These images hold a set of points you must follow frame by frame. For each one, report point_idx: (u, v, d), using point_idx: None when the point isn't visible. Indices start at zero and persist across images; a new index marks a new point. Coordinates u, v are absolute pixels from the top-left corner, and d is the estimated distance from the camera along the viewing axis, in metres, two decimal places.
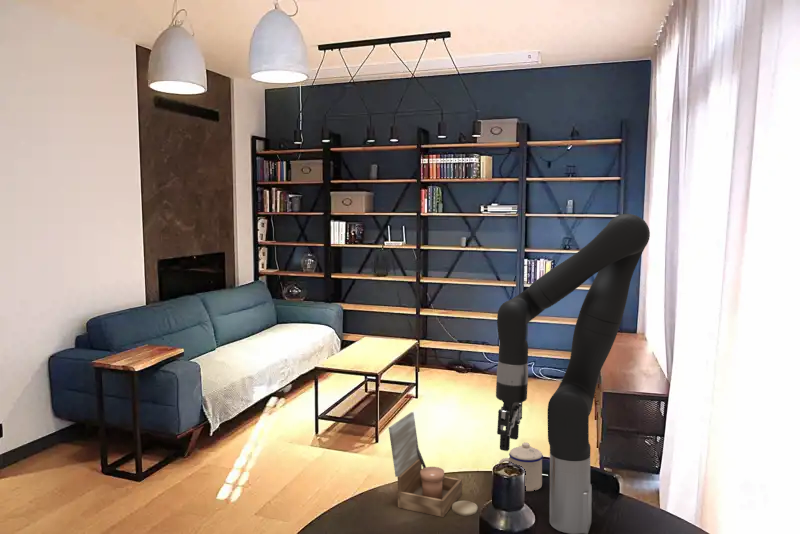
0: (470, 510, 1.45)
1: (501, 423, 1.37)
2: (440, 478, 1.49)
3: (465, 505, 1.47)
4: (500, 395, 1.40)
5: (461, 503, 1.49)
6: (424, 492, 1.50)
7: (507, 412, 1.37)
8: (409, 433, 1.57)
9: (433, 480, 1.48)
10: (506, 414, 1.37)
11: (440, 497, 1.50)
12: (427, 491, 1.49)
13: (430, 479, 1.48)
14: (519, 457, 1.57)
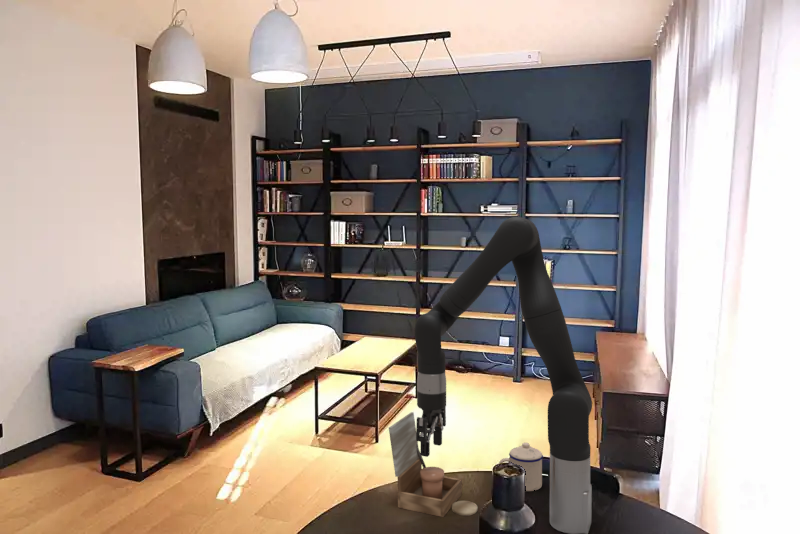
0: (470, 510, 1.45)
1: (419, 430, 1.45)
2: (440, 478, 1.49)
3: (465, 505, 1.47)
4: (420, 403, 1.48)
5: (461, 503, 1.49)
6: (424, 492, 1.50)
7: (424, 419, 1.44)
8: (409, 433, 1.57)
9: (433, 480, 1.48)
10: (423, 421, 1.44)
11: (440, 497, 1.50)
12: (427, 491, 1.49)
13: (430, 479, 1.48)
14: (519, 457, 1.57)
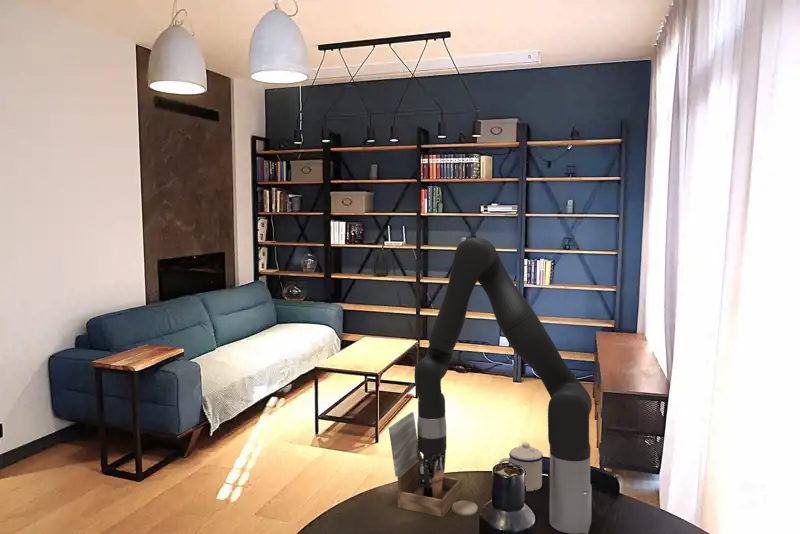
0: (470, 510, 1.45)
1: (421, 478, 1.46)
2: (440, 478, 1.49)
3: (465, 505, 1.47)
4: (420, 447, 1.49)
5: (461, 503, 1.49)
6: None
7: (425, 469, 1.45)
8: (409, 433, 1.57)
9: (433, 480, 1.48)
10: (424, 470, 1.45)
11: (440, 497, 1.50)
12: None
13: None
14: (519, 457, 1.57)
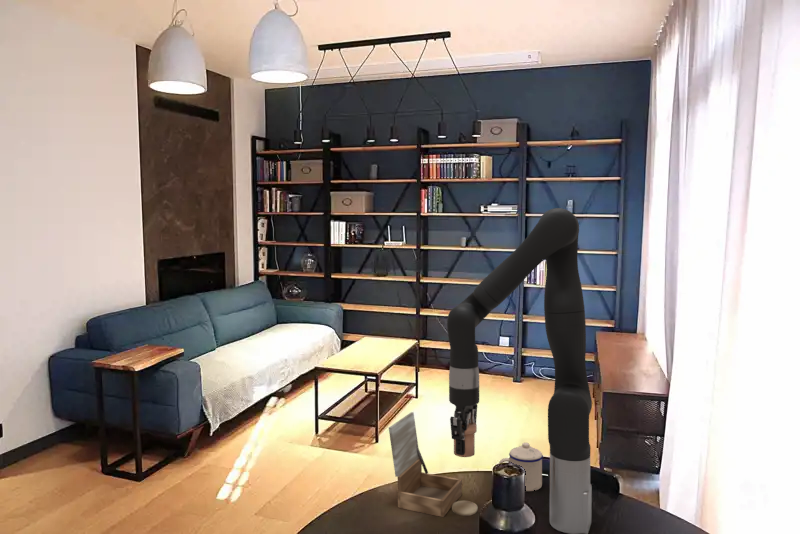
0: (470, 510, 1.45)
1: (454, 430, 1.40)
2: (473, 431, 1.43)
3: (465, 505, 1.47)
4: (452, 399, 1.43)
5: (461, 503, 1.49)
6: None
7: (458, 420, 1.39)
8: (409, 433, 1.57)
9: (466, 433, 1.43)
10: (457, 421, 1.39)
11: (472, 451, 1.44)
12: None
13: (462, 432, 1.43)
14: (519, 457, 1.57)
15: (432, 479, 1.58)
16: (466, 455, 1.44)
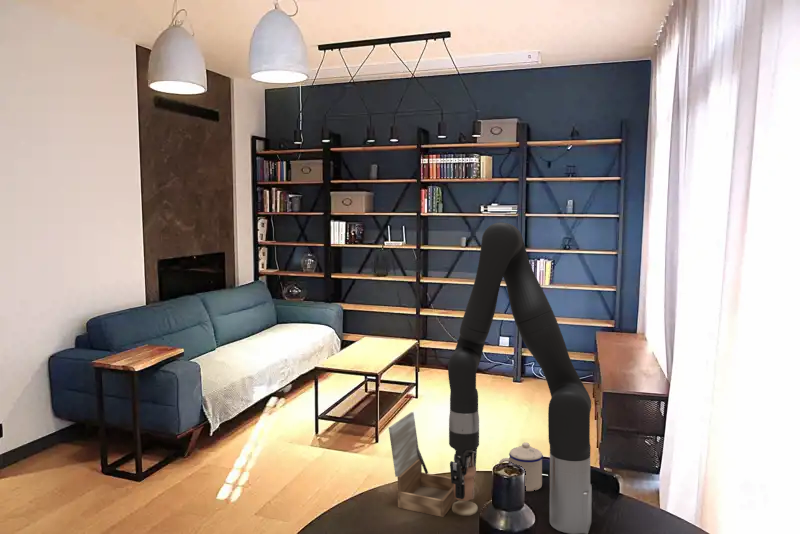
0: (470, 510, 1.45)
1: (454, 475, 1.41)
2: (472, 475, 1.44)
3: (465, 505, 1.47)
4: (452, 443, 1.44)
5: (461, 503, 1.49)
6: None
7: (458, 465, 1.40)
8: (409, 433, 1.57)
9: (465, 477, 1.43)
10: (457, 467, 1.40)
11: (472, 494, 1.45)
12: None
13: None
14: (519, 457, 1.57)
15: (432, 479, 1.58)
16: (465, 499, 1.44)
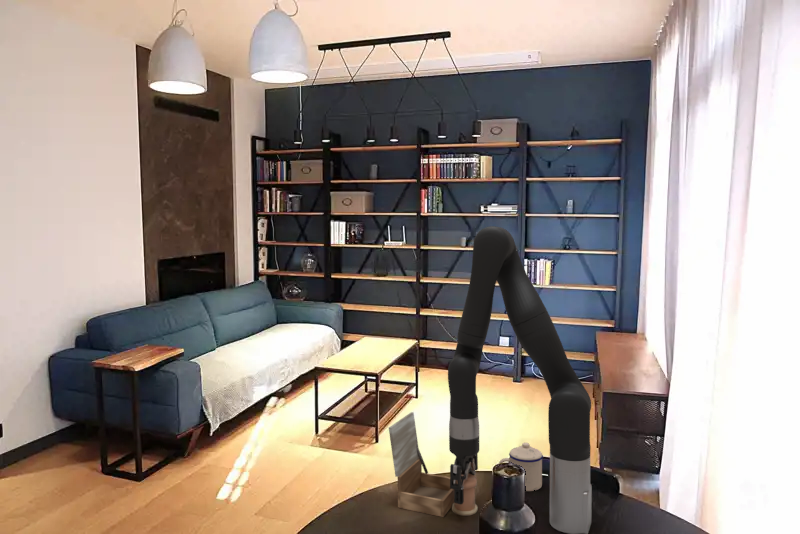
0: None
1: (453, 478, 1.40)
2: (473, 485, 1.44)
3: None
4: (453, 449, 1.44)
5: None
6: None
7: (458, 467, 1.40)
8: (409, 433, 1.57)
9: (466, 487, 1.44)
10: (457, 469, 1.40)
11: (473, 505, 1.45)
12: None
13: None
14: (519, 457, 1.57)
15: (432, 479, 1.58)
16: (466, 509, 1.44)
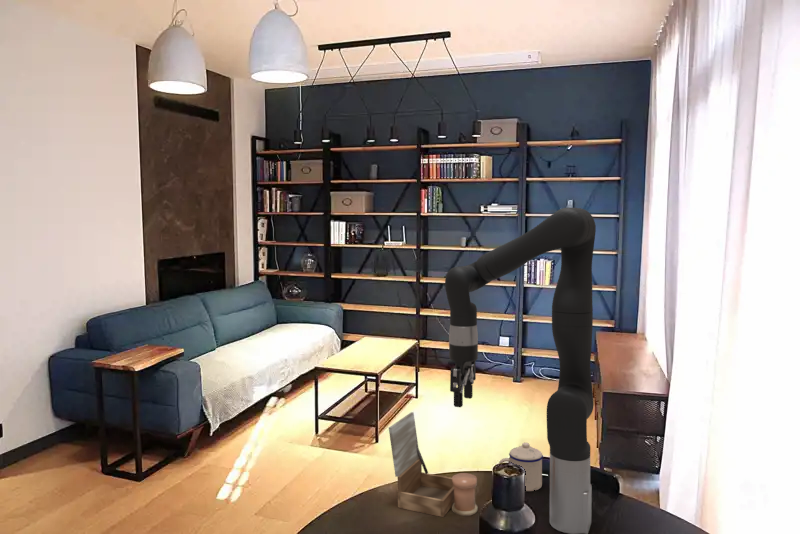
0: None
1: (453, 381, 1.47)
2: (473, 485, 1.44)
3: None
4: (452, 355, 1.51)
5: None
6: (456, 499, 1.45)
7: (458, 370, 1.47)
8: (409, 433, 1.57)
9: (466, 487, 1.44)
10: (457, 372, 1.47)
11: (473, 505, 1.45)
12: (459, 499, 1.45)
13: (463, 486, 1.44)
14: (519, 457, 1.57)
15: (432, 479, 1.58)
16: (466, 509, 1.44)
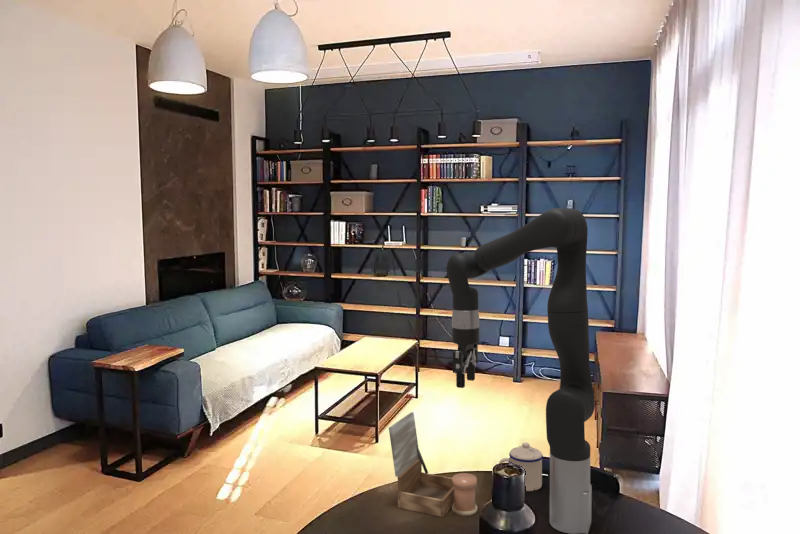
0: None
1: (455, 362, 1.54)
2: (473, 485, 1.44)
3: None
4: (455, 339, 1.58)
5: None
6: (456, 499, 1.45)
7: (460, 352, 1.54)
8: (409, 433, 1.57)
9: (466, 487, 1.44)
10: (459, 354, 1.54)
11: (473, 505, 1.45)
12: (459, 499, 1.45)
13: (463, 486, 1.44)
14: (519, 457, 1.57)
15: (432, 479, 1.58)
16: (466, 509, 1.44)
